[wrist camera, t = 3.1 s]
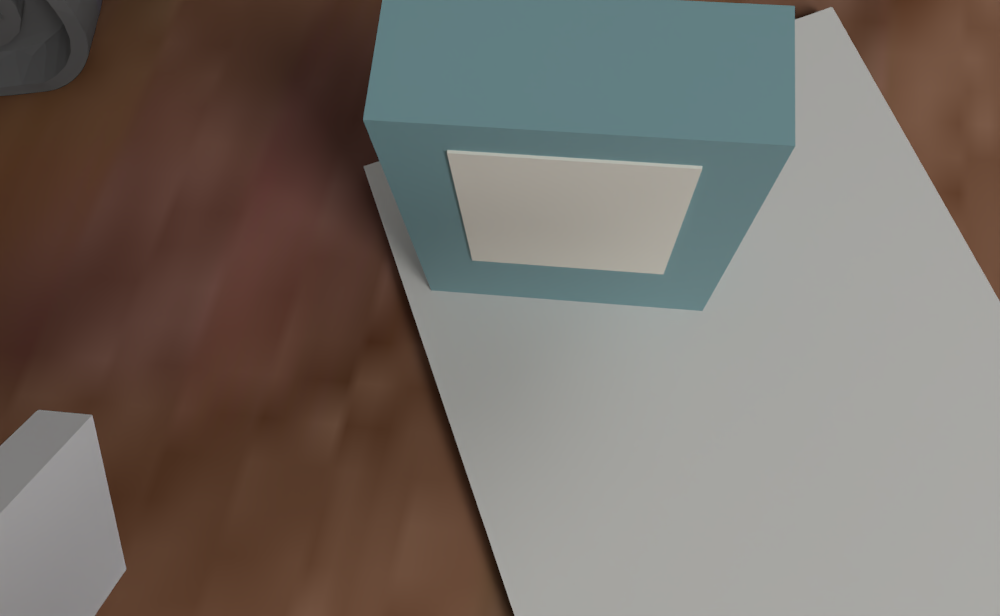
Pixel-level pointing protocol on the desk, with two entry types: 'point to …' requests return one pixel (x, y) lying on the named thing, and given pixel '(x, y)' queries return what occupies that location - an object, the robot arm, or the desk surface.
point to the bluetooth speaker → (44, 43)
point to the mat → (747, 400)
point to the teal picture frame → (581, 141)
